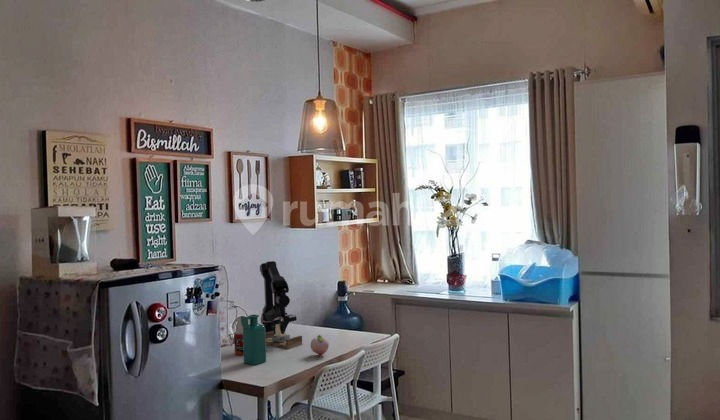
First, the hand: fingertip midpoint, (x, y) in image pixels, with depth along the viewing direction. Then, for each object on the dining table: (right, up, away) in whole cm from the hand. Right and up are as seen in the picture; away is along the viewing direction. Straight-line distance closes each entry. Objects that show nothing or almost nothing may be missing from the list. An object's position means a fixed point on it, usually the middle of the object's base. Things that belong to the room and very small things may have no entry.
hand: (280, 333), depth 307 cm
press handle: (0, -4, 0) cm, 4 cm away
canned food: (-16, -7, -16) cm, 24 cm away
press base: (0, -6, 0) cm, 6 cm away
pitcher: (-8, -7, -33) cm, 35 cm away
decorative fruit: (+22, -6, -25) cm, 33 cm away
